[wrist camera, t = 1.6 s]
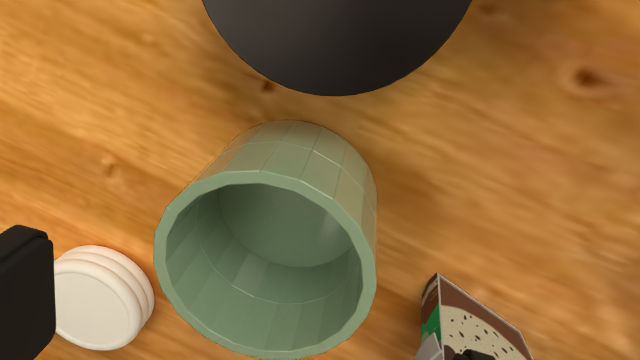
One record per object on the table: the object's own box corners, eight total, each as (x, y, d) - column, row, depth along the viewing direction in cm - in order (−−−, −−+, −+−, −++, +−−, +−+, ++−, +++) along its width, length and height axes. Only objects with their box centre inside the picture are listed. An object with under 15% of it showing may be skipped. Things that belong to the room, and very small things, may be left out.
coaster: (94, 335, 44) (72, 361, 41) (38, 257, 41) (9, 279, 38) (175, 315, 42) (158, 342, 38) (122, 230, 38) (98, 252, 35)
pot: (398, 143, 32) (404, 205, 23) (355, 286, 37) (346, 381, 28) (220, 101, 32) (157, 144, 23) (205, 248, 38) (149, 330, 29)
